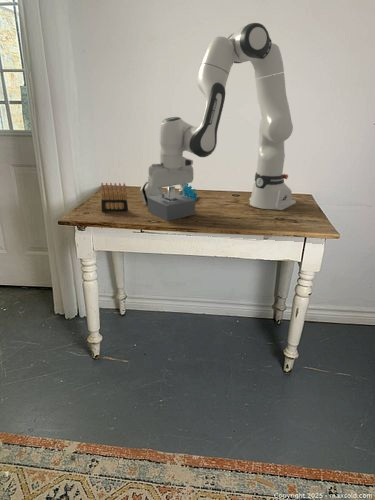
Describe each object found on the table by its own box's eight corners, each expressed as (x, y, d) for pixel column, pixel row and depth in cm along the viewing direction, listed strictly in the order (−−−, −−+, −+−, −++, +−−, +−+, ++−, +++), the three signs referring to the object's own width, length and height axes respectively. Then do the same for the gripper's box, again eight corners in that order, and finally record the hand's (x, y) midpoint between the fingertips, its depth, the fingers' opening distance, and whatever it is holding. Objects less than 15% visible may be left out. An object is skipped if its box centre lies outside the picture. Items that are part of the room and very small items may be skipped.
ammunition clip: (101, 211, 142) (99, 183, 137) (102, 210, 144) (100, 182, 139) (127, 211, 143) (126, 183, 138) (128, 210, 145) (126, 182, 140)
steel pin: (172, 209, 145) (172, 185, 141) (176, 211, 143) (176, 187, 139) (166, 210, 143) (166, 186, 139) (170, 212, 141) (170, 188, 137)
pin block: (174, 205, 152) (174, 192, 150) (194, 214, 142) (195, 200, 140) (147, 211, 144) (147, 197, 142) (166, 220, 134) (166, 206, 132)
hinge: (154, 206, 151) (146, 184, 148) (145, 208, 153) (137, 186, 150) (167, 196, 166) (160, 176, 163) (158, 198, 167) (151, 178, 164)
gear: (191, 200, 154) (179, 182, 155) (182, 208, 158) (170, 190, 158) (202, 197, 164) (190, 180, 165) (194, 205, 167) (182, 188, 168)
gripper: (153, 165, 126) (154, 202, 132) (196, 160, 138) (195, 194, 144) (144, 163, 131) (145, 198, 137) (186, 158, 142) (185, 190, 148)
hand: (171, 196), depth 140 cm, fingers open, 8 cm apart
